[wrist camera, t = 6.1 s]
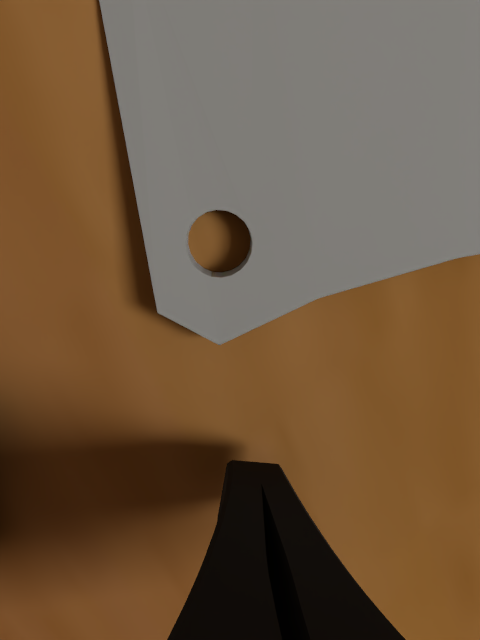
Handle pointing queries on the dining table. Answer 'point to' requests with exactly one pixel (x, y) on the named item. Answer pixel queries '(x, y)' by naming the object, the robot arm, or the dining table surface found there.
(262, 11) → the kitchen cleaver
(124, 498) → the dining table surface
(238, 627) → the robot arm
